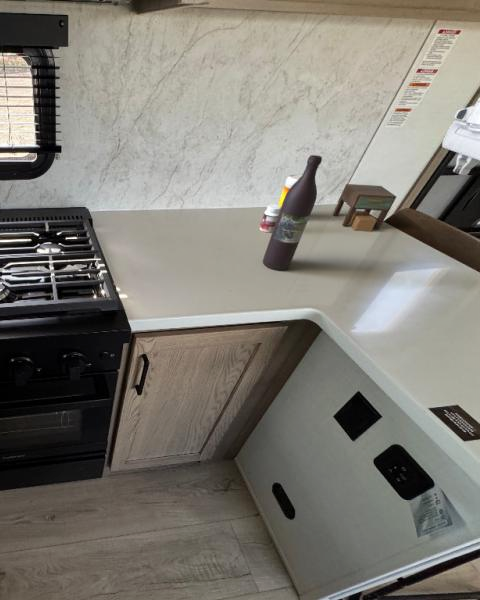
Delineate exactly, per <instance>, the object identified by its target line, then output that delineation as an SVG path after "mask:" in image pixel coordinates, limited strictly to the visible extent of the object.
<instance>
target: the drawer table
mask: <svg viewBox="0 0 480 600" xmlns="http://www.w3.org/2000/svg"><path fill="white" fill-rule="evenodd" d="M396 199H397V195H395V194H394V193H392V192H391V191H389V190H388V189H387V188H385V187H383V185H371V184H353V183H346V184H345V186H344V189H343V190H342V192H341V194H340V197H339V199H338V201H337V203H336V206H335V208H334V211H333V213H332V216H333V217H339V215H340V213H341V211H342V208H343V206H344V204H346V205H348V207H349V209H348V212H347V214H346V216H345V218H344V220H343V221H342V224H341V226H343V227H346V228H348V227H349V226H350V225H349V223H350V221H351V219H352V217H353V215H354V213H355V211H357V210H363V211H364V212H368V213H369V214H371V211H380V213H379V214H378V217H377V218H376V220H377V221H376V223H375V225H374V227H373V229H374V230H380V228H381V226H382V224H383V223H384V221H385V219H386V217H387V215H388V213H389V212H390V210H391V208H392V206H393V205H394V202H395V201H396Z"/></svg>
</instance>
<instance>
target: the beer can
mask: <svg viewBox="0 0 480 600" xmlns="http://www.w3.org/2000/svg"><path fill="white" fill-rule="evenodd" d="M302 175H303V174H290V175H289V176H288V177H287V178H286V180H285V183H284V186H283V189H282V192H281V194H280V198H279V200H278V204H277V205H278V206H280V207H282V204H283V201H284V198H285V196H286V194H287V192H288V191H289V189H290V188H291V187H292V186H293V185H294V184H295V183H296V182H297V181H298V180H299V178H300V177H301V176H302Z"/></svg>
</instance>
